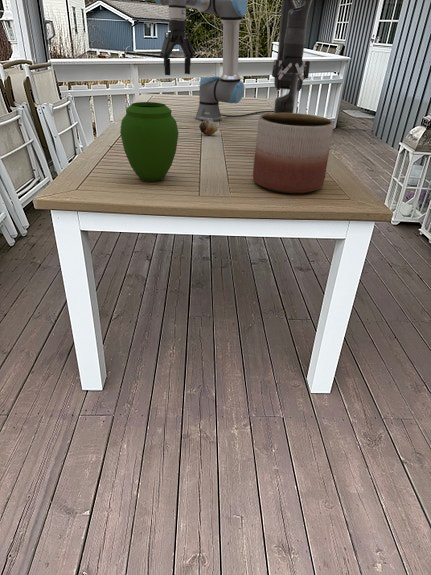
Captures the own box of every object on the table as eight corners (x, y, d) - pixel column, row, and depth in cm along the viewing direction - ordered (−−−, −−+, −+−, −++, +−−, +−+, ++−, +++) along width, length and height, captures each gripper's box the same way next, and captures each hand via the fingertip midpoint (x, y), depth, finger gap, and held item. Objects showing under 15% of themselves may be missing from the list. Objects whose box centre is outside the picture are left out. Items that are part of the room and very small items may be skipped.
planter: (334, 195, 139) (348, 127, 128) (262, 196, 135) (270, 126, 123) (308, 173, 160) (318, 112, 149) (245, 173, 156) (250, 111, 145)
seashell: (216, 134, 214) (217, 117, 210) (218, 136, 209) (218, 119, 205) (198, 133, 213) (198, 117, 208) (199, 136, 208) (199, 119, 204)
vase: (131, 189, 135) (125, 110, 122) (118, 172, 150) (112, 100, 137) (186, 184, 142) (187, 109, 129) (169, 168, 157) (167, 99, 144)
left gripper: (163, 18, 168) (164, 76, 180) (202, 21, 185) (200, 74, 197) (150, 18, 172) (152, 74, 183) (189, 21, 189) (189, 72, 200)
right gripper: (280, 42, 148) (274, 91, 157) (316, 43, 151) (308, 92, 160) (273, 41, 154) (268, 88, 163) (307, 43, 157) (301, 89, 166)
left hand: (177, 74), depth 190 cm, fingers open, 13 cm apart
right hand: (288, 90), depth 161 cm, fingers open, 8 cm apart
